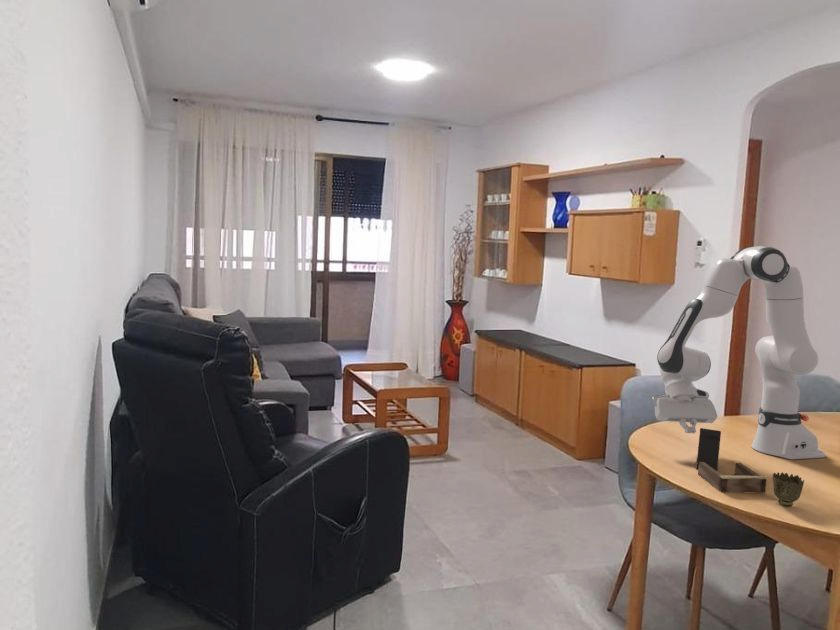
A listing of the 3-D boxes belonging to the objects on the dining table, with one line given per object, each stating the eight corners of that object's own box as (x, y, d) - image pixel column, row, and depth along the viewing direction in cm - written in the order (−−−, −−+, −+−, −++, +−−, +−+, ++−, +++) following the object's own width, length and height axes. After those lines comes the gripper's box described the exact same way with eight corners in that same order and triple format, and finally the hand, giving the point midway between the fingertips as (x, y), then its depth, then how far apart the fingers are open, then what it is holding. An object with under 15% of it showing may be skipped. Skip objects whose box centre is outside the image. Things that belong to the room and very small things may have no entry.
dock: (739, 475, 201) (740, 461, 200) (765, 492, 187) (766, 477, 187) (697, 474, 200) (699, 460, 199) (721, 492, 186) (722, 477, 186)
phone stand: (716, 473, 202) (720, 435, 200) (695, 469, 204) (699, 432, 203) (717, 464, 210) (721, 427, 208) (697, 460, 212) (700, 424, 211)
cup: (805, 512, 175) (808, 483, 174) (775, 509, 176) (778, 480, 175) (795, 501, 182) (798, 473, 181) (766, 498, 183) (769, 470, 182)
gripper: (654, 390, 222) (664, 426, 213) (712, 392, 224) (724, 429, 215) (647, 399, 227) (656, 435, 218) (704, 402, 229) (716, 438, 220)
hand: (691, 432), depth 217 cm, fingers closed
